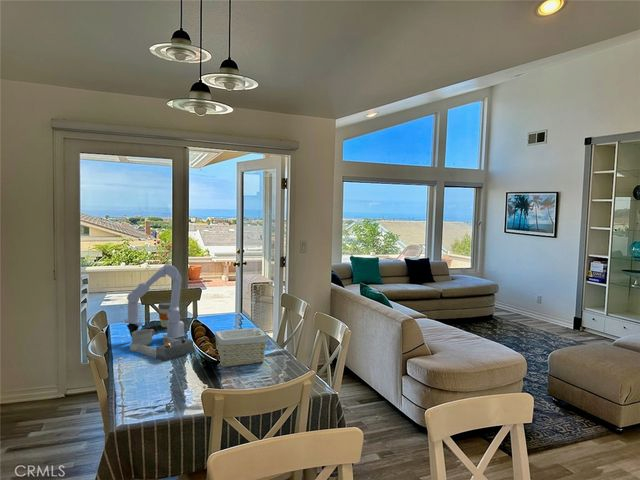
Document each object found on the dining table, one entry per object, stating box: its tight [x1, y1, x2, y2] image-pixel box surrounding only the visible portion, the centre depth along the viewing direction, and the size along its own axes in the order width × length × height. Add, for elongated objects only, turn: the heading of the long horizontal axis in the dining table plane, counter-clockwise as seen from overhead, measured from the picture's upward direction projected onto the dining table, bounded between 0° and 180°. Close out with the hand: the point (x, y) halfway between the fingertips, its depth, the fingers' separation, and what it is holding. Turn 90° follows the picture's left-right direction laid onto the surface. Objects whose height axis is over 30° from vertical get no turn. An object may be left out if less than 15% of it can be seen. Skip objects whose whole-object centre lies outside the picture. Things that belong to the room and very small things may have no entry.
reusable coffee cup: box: [157, 300, 171, 328], centre depth 282 cm, size 13×12×15 cm
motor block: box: [129, 334, 194, 362], centre depth 231 cm, size 22×28×7 cm
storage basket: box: [214, 327, 268, 368], centre depth 218 cm, size 24×16×15 cm
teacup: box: [131, 328, 156, 346], centre depth 241 cm, size 14×11×8 cm
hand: (133, 336), depth 246 cm, fingers closed
